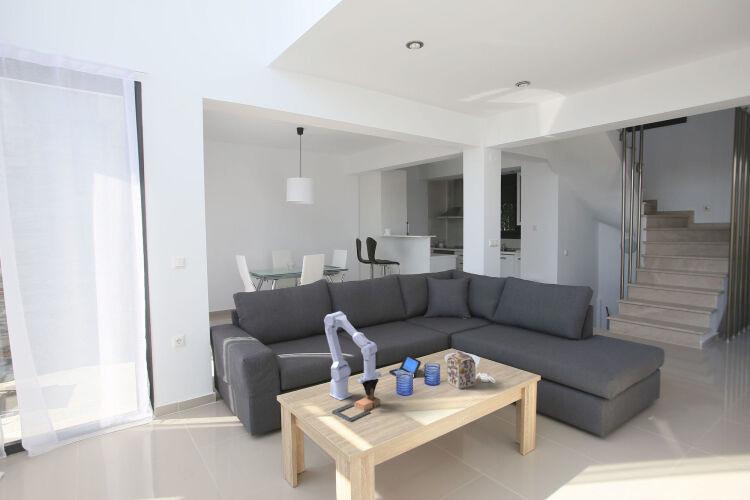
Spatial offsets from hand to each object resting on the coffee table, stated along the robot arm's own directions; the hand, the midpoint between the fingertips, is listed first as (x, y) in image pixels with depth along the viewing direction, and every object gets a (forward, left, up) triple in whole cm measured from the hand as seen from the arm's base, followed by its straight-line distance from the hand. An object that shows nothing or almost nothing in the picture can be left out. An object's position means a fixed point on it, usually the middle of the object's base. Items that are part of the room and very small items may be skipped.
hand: (370, 393), depth 207 cm
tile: (0, -4, -6) cm, 7 cm away
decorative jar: (+18, +53, -6) cm, 57 cm away
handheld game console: (-15, +43, -6) cm, 46 cm away
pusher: (0, +1, -5) cm, 5 cm away
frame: (0, -13, -5) cm, 14 cm away
